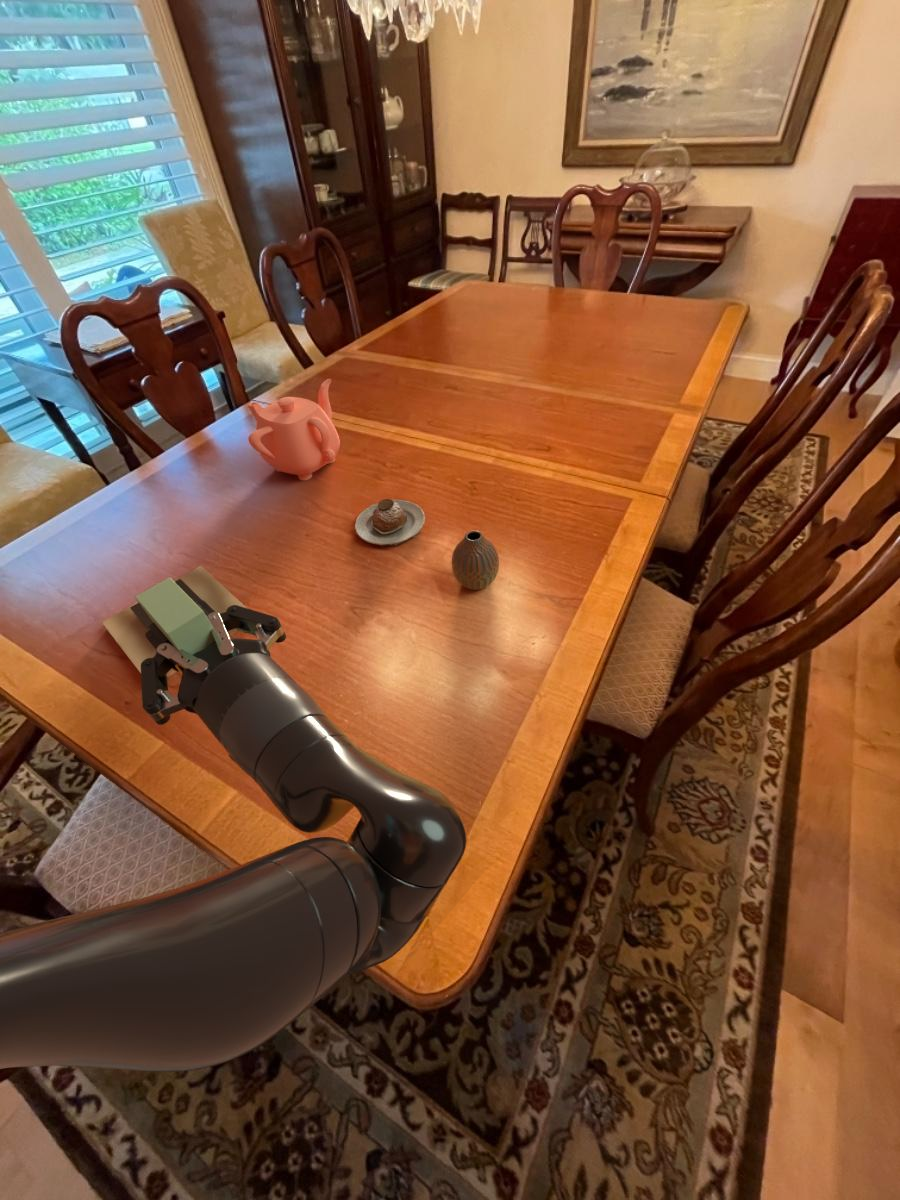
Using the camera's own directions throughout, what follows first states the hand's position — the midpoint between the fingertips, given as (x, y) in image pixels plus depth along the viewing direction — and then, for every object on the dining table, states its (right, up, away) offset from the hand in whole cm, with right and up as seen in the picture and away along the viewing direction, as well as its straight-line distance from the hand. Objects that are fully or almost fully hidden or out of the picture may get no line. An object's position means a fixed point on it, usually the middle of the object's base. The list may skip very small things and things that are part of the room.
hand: (174, 618), depth 53 cm
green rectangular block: (+3, -6, +4) cm, 8 cm away
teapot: (-2, +30, +55) cm, 63 cm away
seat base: (-12, -2, +26) cm, 29 cm away
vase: (+32, +5, +27) cm, 42 cm away
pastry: (+17, +14, +38) cm, 44 cm away
